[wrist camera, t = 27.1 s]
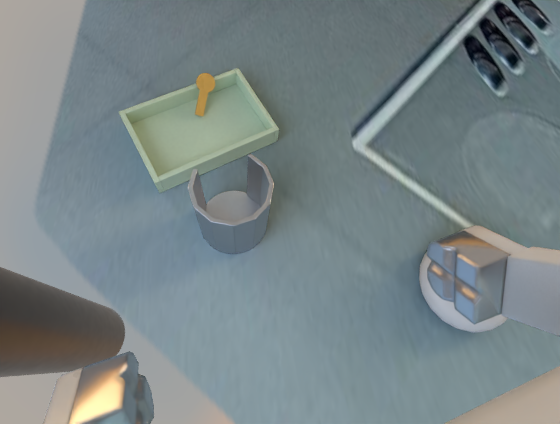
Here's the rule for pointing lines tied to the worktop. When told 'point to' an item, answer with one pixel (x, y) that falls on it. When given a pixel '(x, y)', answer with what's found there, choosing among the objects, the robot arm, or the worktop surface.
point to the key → (203, 91)
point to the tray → (199, 129)
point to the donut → (452, 306)
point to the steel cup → (235, 210)
